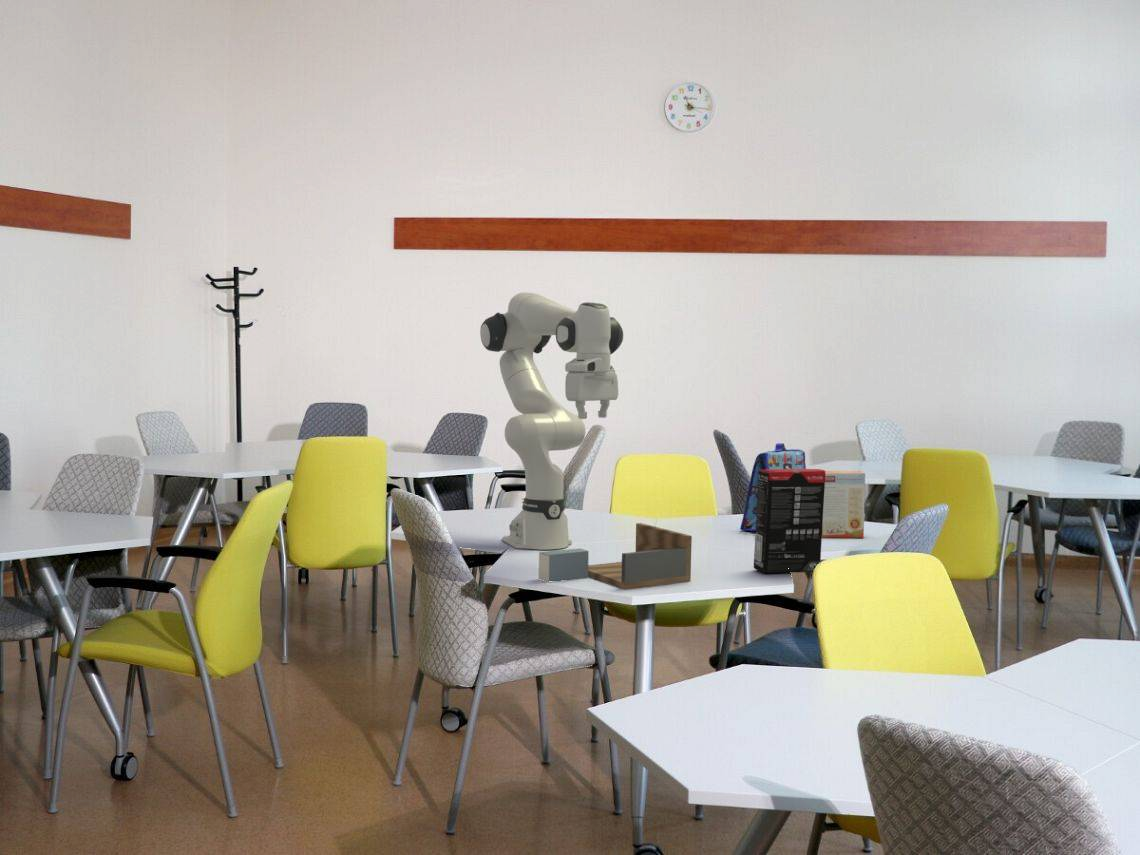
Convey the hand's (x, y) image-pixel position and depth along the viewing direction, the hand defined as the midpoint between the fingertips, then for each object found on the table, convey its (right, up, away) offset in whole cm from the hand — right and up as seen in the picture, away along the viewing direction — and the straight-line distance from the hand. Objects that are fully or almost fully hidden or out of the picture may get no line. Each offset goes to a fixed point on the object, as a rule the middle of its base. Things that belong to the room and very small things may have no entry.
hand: (592, 418), depth 273 cm
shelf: (+10, -41, -6) cm, 42 cm away
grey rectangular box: (-7, -41, -10) cm, 42 cm away
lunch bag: (+62, -36, +70) cm, 100 cm away
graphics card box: (+52, -41, +4) cm, 66 cm away
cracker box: (+80, -37, +60) cm, 107 cm away
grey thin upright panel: (+15, -40, -15) cm, 45 cm away
